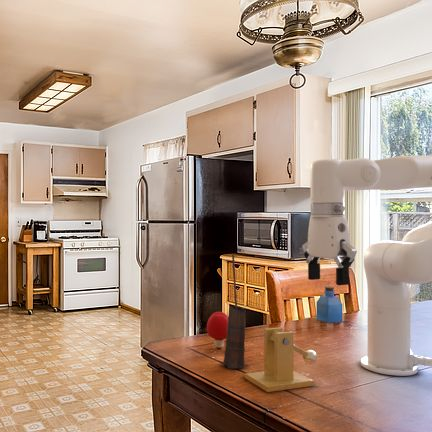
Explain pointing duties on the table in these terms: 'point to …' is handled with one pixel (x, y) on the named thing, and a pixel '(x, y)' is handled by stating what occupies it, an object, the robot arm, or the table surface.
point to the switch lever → (301, 351)
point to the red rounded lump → (218, 328)
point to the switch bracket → (278, 364)
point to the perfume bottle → (329, 307)
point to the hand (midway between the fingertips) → (327, 282)
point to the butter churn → (235, 334)
